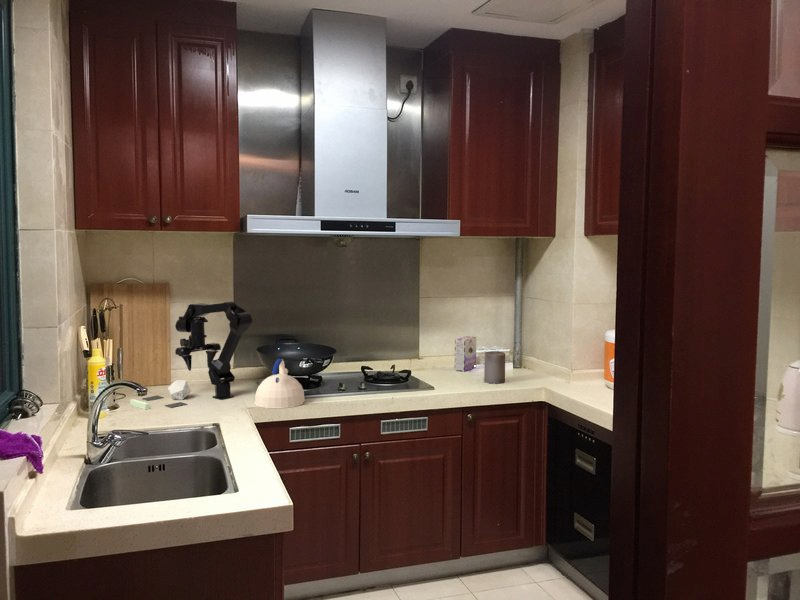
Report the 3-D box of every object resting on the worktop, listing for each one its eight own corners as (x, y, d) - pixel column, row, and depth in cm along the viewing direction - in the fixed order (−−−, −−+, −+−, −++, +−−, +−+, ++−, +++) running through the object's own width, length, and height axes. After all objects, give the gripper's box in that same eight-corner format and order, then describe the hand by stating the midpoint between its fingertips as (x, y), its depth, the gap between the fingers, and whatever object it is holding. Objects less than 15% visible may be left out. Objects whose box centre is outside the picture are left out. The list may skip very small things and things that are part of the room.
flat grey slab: (187, 404, 259) (187, 399, 259) (152, 411, 248) (152, 406, 247) (157, 396, 274) (157, 391, 273) (123, 402, 262) (123, 397, 262)
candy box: (466, 366, 340) (466, 335, 339) (476, 367, 337) (476, 336, 335) (454, 370, 328) (454, 338, 327) (464, 372, 325) (464, 339, 324)
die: (170, 403, 263) (185, 385, 263) (160, 391, 267) (174, 372, 267) (184, 406, 270) (198, 388, 270) (173, 394, 274) (187, 376, 274)
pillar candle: (501, 379, 307) (501, 348, 306) (507, 383, 298) (508, 351, 297) (481, 380, 306) (481, 348, 304) (487, 384, 296) (488, 352, 295)
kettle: (309, 396, 273) (308, 354, 271) (300, 409, 252) (299, 363, 251) (261, 396, 273) (260, 354, 272) (248, 408, 253) (247, 363, 251)
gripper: (206, 329, 288) (208, 364, 289) (167, 334, 274) (169, 370, 275) (220, 330, 280) (222, 366, 282) (181, 335, 266) (183, 373, 268)
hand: (199, 368), depth 277 cm, fingers open, 9 cm apart
